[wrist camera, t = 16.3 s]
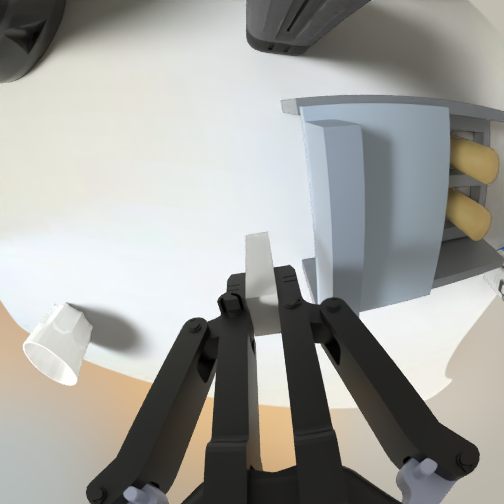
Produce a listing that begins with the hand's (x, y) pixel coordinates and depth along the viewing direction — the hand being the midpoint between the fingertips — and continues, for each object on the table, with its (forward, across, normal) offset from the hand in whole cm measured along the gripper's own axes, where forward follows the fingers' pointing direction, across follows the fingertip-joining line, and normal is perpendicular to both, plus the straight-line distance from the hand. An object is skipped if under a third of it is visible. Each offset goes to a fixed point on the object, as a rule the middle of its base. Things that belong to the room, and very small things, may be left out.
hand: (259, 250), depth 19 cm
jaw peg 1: (+11, +25, +3) cm, 27 cm away
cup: (+11, -33, -14) cm, 38 cm away
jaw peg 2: (+11, +25, -3) cm, 27 cm away
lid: (+2, +10, 0) cm, 10 cm away
